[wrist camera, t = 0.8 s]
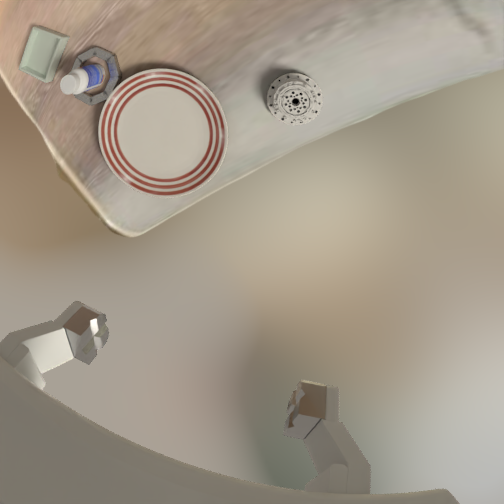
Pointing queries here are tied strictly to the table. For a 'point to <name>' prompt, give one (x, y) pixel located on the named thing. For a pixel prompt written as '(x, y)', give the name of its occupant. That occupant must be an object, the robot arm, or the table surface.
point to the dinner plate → (163, 133)
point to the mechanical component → (286, 87)
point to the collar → (113, 69)
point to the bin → (43, 53)
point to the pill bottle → (83, 79)
